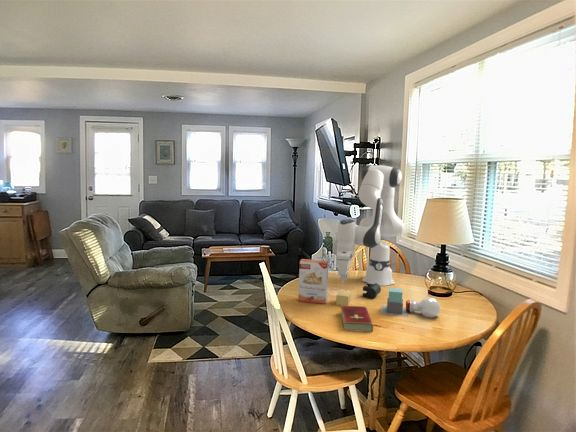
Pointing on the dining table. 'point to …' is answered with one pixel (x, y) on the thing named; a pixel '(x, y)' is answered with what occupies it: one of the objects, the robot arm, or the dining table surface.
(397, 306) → the base brick
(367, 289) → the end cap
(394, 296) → the teal brick
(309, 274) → the cracker box
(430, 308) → the potion bottle
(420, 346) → the dining table surface
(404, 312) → the build plate
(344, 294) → the ochre brick
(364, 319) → the hardcover book
